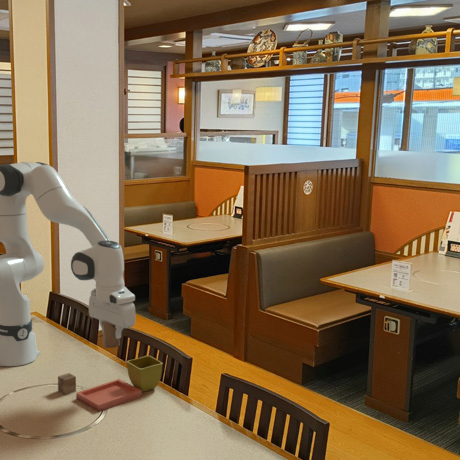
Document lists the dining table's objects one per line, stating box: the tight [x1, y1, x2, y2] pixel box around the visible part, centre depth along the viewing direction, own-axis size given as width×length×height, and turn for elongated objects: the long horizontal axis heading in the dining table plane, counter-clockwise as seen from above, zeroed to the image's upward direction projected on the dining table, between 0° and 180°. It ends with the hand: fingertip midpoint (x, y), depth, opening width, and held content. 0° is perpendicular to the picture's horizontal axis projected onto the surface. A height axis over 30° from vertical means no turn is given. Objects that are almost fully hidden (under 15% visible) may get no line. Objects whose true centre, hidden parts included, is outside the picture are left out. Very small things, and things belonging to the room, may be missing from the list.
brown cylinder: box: [102, 321, 121, 349], centre depth 193 cm, size 5×5×8 cm
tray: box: [75, 378, 143, 413], centre depth 191 cm, size 12×16×2 cm
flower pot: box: [126, 355, 164, 393], centre depth 199 cm, size 9×9×9 cm
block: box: [57, 372, 77, 396], centre depth 195 cm, size 4×4×5 cm
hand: (111, 335), depth 193 cm, fingers closed on brown cylinder, 5 cm apart
